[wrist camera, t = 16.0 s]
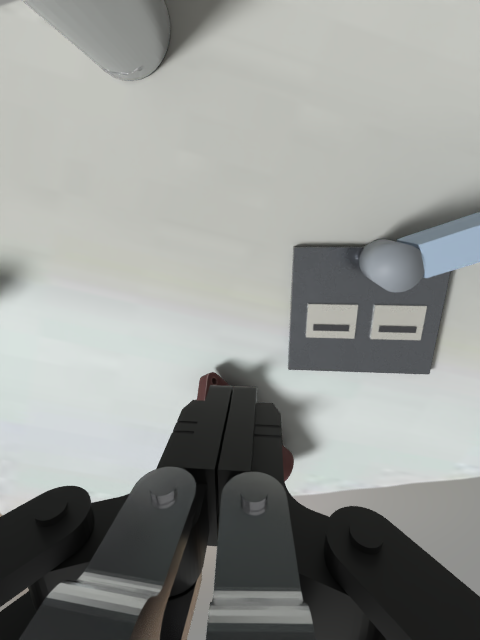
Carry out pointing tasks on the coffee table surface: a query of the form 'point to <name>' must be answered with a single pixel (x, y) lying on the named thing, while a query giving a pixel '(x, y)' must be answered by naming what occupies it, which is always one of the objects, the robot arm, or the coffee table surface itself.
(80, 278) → the coffee table surface
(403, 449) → the coffee table surface
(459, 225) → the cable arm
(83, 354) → the coffee table surface
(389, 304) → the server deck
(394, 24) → the coffee table surface
